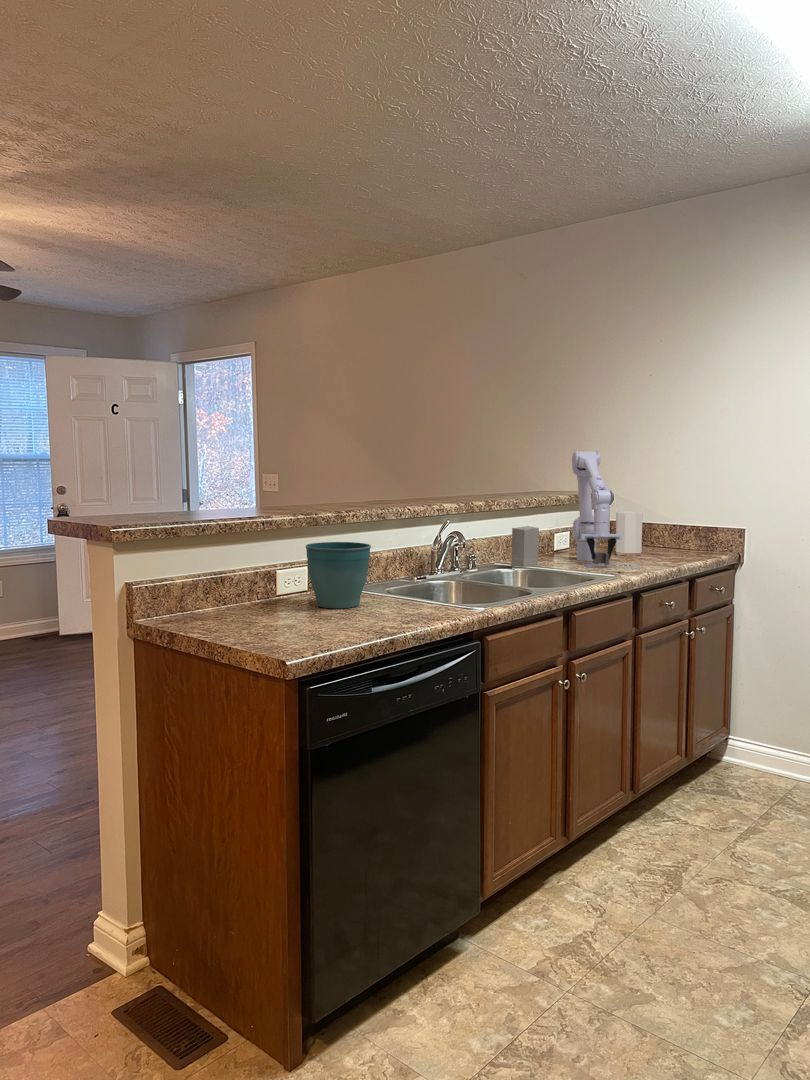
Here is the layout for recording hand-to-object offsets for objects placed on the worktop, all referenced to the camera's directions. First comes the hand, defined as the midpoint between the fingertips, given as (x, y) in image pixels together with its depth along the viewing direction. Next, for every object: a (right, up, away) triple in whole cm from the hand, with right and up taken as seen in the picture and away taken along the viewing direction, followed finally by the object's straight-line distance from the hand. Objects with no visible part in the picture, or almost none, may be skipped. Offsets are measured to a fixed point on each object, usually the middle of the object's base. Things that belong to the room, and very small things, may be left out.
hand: (600, 559), depth 298 cm
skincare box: (-28, -4, +1) cm, 28 cm away
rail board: (+4, -4, 0) cm, 6 cm away
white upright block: (+23, 0, +47) cm, 53 cm away
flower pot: (-91, -11, -73) cm, 117 cm away
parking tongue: (-12, -3, +6) cm, 14 cm away
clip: (0, -2, 0) cm, 2 cm away
